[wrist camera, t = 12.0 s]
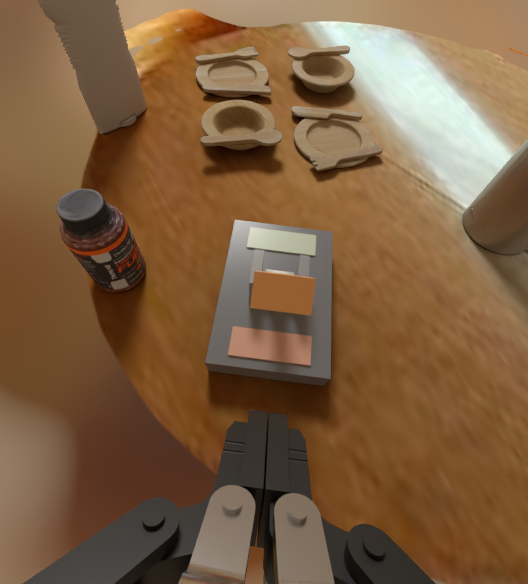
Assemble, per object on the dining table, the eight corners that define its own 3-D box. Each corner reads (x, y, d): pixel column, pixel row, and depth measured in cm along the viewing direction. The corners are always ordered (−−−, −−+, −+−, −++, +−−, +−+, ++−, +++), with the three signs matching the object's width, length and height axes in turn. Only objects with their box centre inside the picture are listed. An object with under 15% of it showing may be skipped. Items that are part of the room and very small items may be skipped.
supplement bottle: (139, 297, 36) (100, 234, 27) (88, 291, 36) (29, 226, 27) (153, 255, 39) (122, 183, 29) (105, 249, 39) (59, 176, 29)
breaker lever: (297, 272, 34) (316, 278, 20) (294, 294, 34) (310, 315, 21) (260, 268, 34) (254, 271, 20) (258, 290, 34) (250, 307, 21)
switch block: (326, 246, 41) (341, 208, 35) (323, 386, 33) (342, 367, 27) (235, 235, 41) (234, 195, 35) (208, 371, 33) (200, 349, 27)
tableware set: (196, 57, 63) (193, 33, 60) (339, 59, 66) (344, 35, 62) (196, 182, 46) (192, 158, 43) (387, 176, 49) (398, 154, 46)
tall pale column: (139, 100, 55) (82, -99, 35) (156, 109, 54) (107, -91, 34) (88, 129, 50) (-9, -81, 31) (106, 140, 49) (17, -70, 30)
